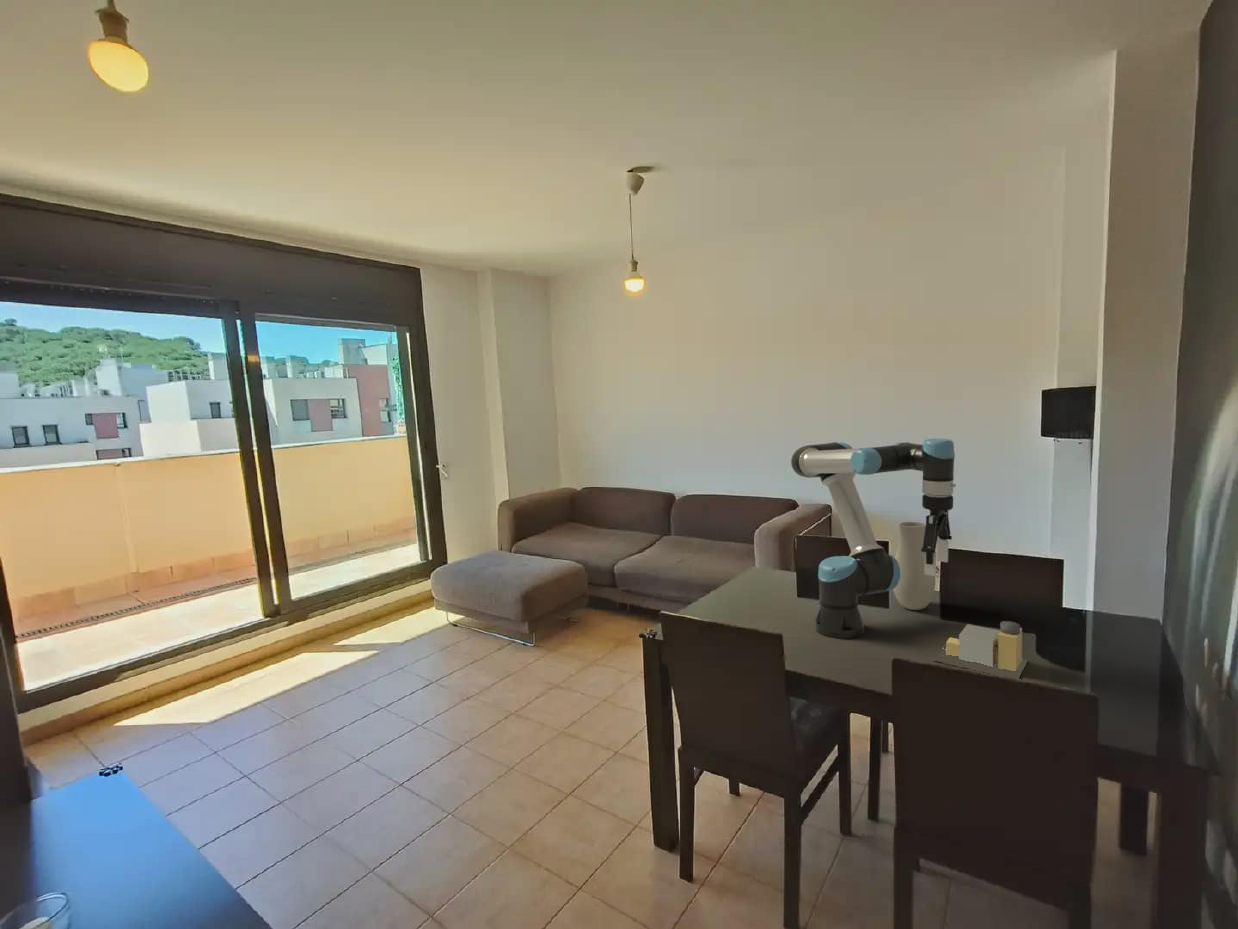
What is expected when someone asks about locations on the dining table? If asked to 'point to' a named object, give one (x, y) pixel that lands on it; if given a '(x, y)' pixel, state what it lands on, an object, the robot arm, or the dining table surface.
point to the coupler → (1000, 646)
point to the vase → (913, 568)
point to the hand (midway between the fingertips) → (936, 568)
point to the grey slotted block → (978, 644)
